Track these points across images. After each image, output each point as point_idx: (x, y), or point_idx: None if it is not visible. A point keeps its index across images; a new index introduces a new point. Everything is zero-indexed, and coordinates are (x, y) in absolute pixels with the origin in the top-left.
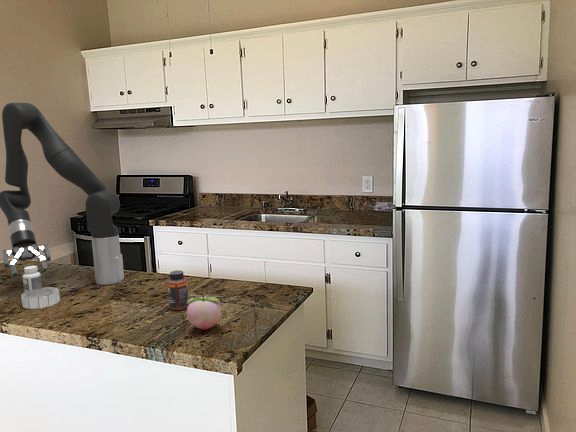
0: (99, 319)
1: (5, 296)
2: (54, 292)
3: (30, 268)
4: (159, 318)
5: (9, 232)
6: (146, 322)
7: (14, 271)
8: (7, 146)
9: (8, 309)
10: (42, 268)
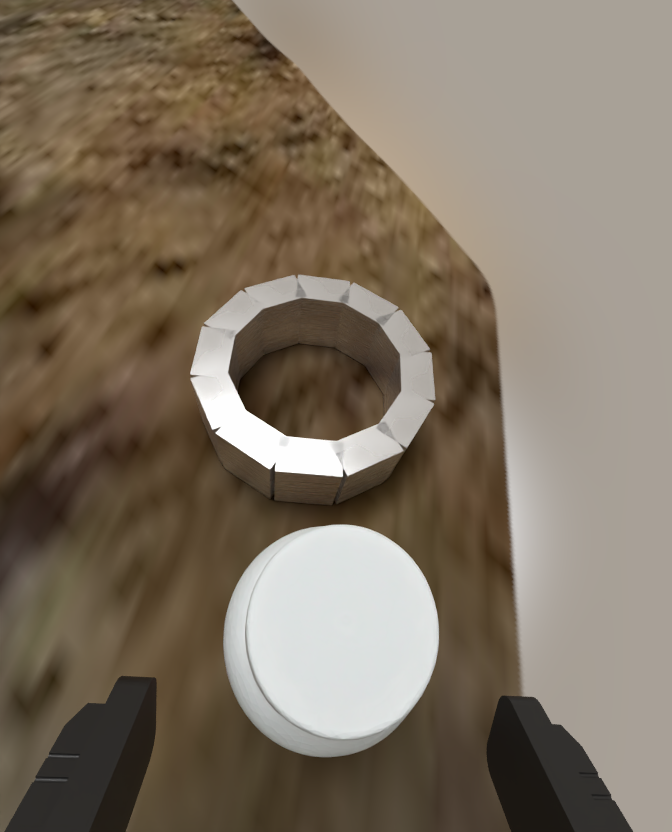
0: (195, 98)
1: None
2: (244, 303)
3: (360, 529)
4: (58, 10)
5: None
6: (107, 16)
7: (554, 734)
8: None
9: (484, 426)
10: (131, 786)
